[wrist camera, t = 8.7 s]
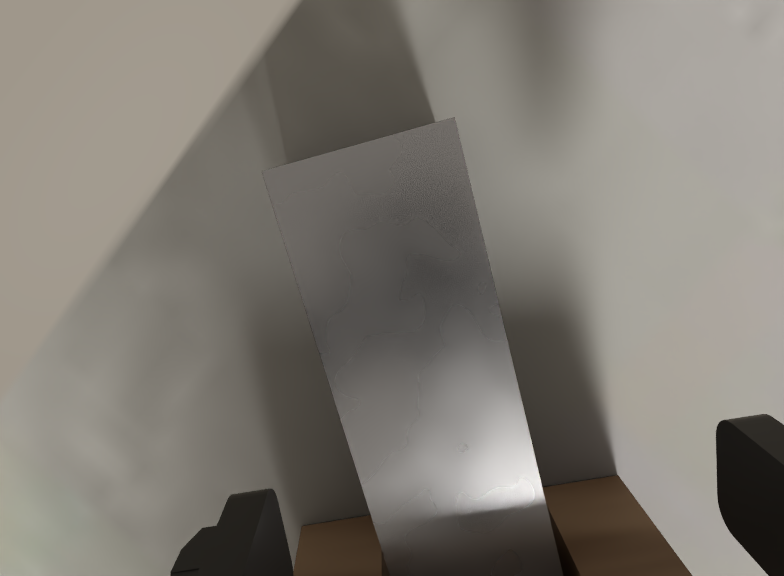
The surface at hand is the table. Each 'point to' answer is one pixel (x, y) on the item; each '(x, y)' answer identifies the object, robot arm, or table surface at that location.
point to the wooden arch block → (569, 524)
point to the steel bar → (417, 353)
